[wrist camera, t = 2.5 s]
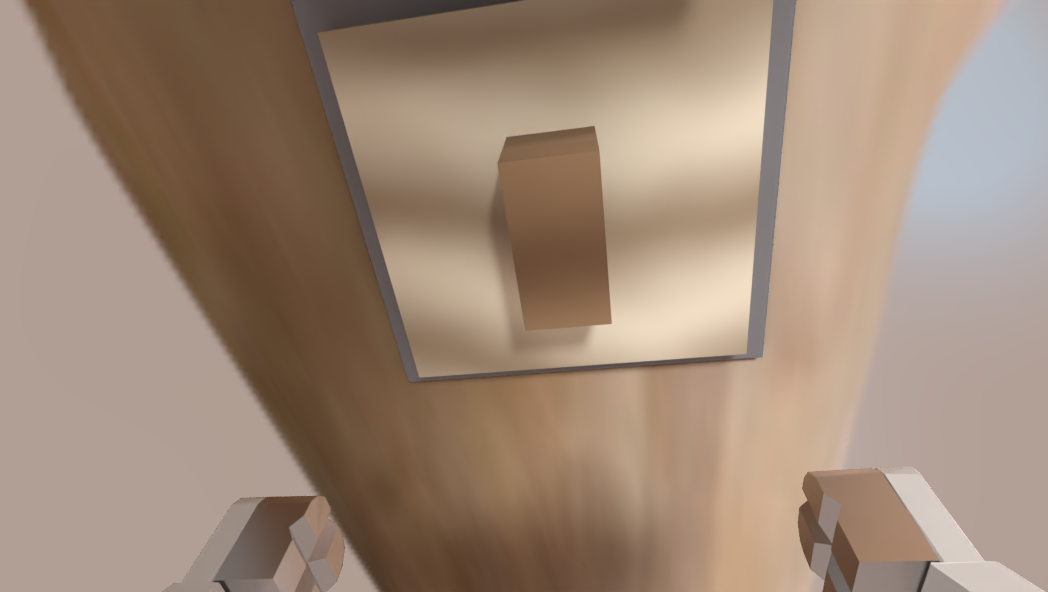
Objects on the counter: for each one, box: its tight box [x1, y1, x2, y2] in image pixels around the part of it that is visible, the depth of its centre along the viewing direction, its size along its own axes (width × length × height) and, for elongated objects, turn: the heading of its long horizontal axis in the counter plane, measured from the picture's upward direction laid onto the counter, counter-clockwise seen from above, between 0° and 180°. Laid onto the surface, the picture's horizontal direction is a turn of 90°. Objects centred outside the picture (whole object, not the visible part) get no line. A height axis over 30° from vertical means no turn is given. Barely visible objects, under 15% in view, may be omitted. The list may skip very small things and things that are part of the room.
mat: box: [291, 0, 796, 382], centre depth 21 cm, size 16×16×1 cm
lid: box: [318, 0, 773, 378], centre depth 19 cm, size 14×14×4 cm
